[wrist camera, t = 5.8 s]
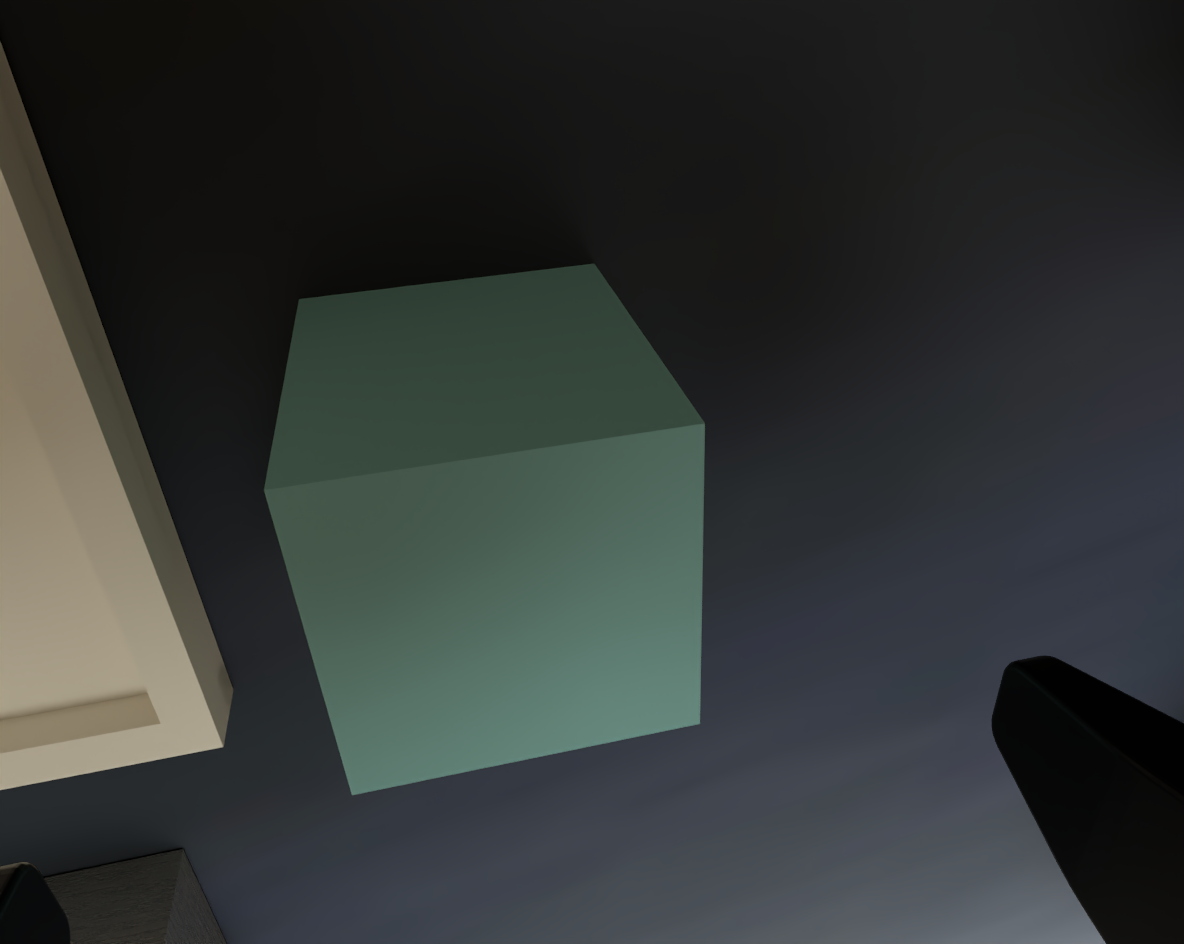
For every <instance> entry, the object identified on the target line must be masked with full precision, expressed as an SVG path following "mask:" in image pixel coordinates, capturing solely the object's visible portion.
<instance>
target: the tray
mask: <svg viewBox="0 0 1184 944" xmlns="http://www.w3.org/2000/svg"><path fill="white" fill-rule="evenodd" d="M232 695H233V687H232V684H231V682H230V679H229V676H228V673H227V671H226V668H225V665H224V662H223V659H222V657H221V654H220V651H219V648H218V646H217V643H216V640H215V637H214V634H213V632H212V629H211V626H210V623H209V620H208V618H207V615H206V612H205V609H204V607H203V604H202V601H201V598H200V595H199V593H198V590H197V587H196V584H195V582H194V579H193V576H192V573H191V570H190V568H189V565H188V562H187V559H186V556H185V554H184V551H183V548H182V545H181V543H180V540H179V537H178V534H177V531H176V529H175V526H174V523H173V520H172V518H171V515H170V512H169V509H168V506H167V504H166V501H165V498H164V495H163V492H162V490H161V487H160V484H159V481H158V479H157V476H156V473H155V470H154V467H153V465H152V462H151V459H150V456H149V454H148V451H147V448H146V445H145V442H144V440H143V437H142V434H141V431H140V429H139V426H138V423H137V420H136V417H135V415H134V412H133V409H132V406H131V403H130V401H129V398H128V395H127V392H126V390H125V387H124V384H123V381H122V378H121V376H120V373H119V370H118V367H117V365H116V362H115V359H114V356H113V353H112V351H111V348H110V345H109V342H108V339H107V337H106V334H105V331H104V328H103V326H102V323H101V320H100V317H99V314H98V312H97V309H96V306H95V303H94V301H93V298H92V295H91V292H90V289H89V287H88V284H87V281H86V278H85V275H84V273H83V270H82V267H81V264H80V262H79V259H78V256H77V253H76V250H75V248H74V245H73V242H72V239H71V237H70V234H69V231H68V228H67V225H66V223H65V220H64V217H63V214H62V211H61V209H60V206H59V203H58V200H57V198H56V195H55V192H54V189H53V186H52V184H51V181H50V178H49V175H48V173H47V170H46V167H45V164H44V161H43V159H42V156H41V153H40V150H39V147H38V145H37V142H36V139H35V136H34V134H33V131H32V128H31V125H30V122H29V120H28V117H27V114H26V111H25V109H24V106H23V103H22V100H21V97H20V95H19V92H18V89H17V86H16V83H15V81H14V78H13V75H12V72H11V70H10V67H9V64H8V61H7V58H6V56H5V53H4V50H3V47H2V45H1V42H0V790H3V789H9V788H14V787H19V786H24V785H29V784H34V783H40V782H45V781H50V780H55V779H60V778H66V777H71V776H76V775H81V774H86V773H91V772H97V771H102V770H107V769H112V768H117V767H123V766H128V765H133V764H138V763H143V762H148V761H154V760H159V759H164V758H169V757H174V756H180V755H185V754H190V753H195V752H200V751H205V750H211V749H216V748H221V747H223V746H224V741H225V735H226V729H227V723H228V718H229V712H230V706H231V701H232Z"/></svg>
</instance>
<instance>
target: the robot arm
mask: <svg viewBox="0 0 1184 944" xmlns="http://www.w3.org/2000/svg"><path fill="white" fill-rule="evenodd" d="M992 731H993V736H994V739H995V742H996V744H997V746H998V748H999V750H1000V752H1001V754H1002V756H1003V758H1004V760H1005V762H1006V764H1007V766H1008V768H1009V770H1010V772H1011V774H1012V776H1013V778H1014V780H1015V782H1016V784H1017V785H1018V787H1019V789H1020V791H1021V793H1022V795H1023V797H1024V799H1025V801H1026V803H1027V805H1028V807H1029V809H1030V811H1031V813H1032V815H1033V817H1034V819H1035V821H1036V823H1037V824H1038V826H1039V828H1040V830H1041V832H1042V834H1043V836H1044V838H1045V840H1046V842H1047V844H1048V846H1049V848H1050V850H1051V852H1052V854H1053V856H1054V858H1055V860H1056V862H1057V863H1058V865H1059V867H1060V869H1061V871H1062V873H1063V874H1064V876H1065V878H1066V880H1067V882H1068V883H1069V885H1070V887H1071V889H1072V890H1073V892H1074V894H1075V895H1076V897H1077V898H1078V900H1079V902H1080V903H1081V905H1082V907H1083V908H1084V910H1085V911H1086V913H1087V915H1088V916H1089V918H1090V919H1091V921H1092V922H1093V924H1094V926H1095V927H1096V929H1097V930H1098V932H1099V933H1100V935H1101V936H1102V938H1103V940H1104V941H1105V943H1106V944H1184V723H1182V722H1180V721H1178V720H1176V719H1174V718H1172V717H1170V716H1168V715H1167V714H1165V713H1163V712H1161V711H1159V710H1157V709H1155V708H1153V707H1151V706H1149V705H1147V704H1145V703H1143V702H1141V701H1139V700H1137V699H1135V698H1133V697H1131V696H1130V695H1128V694H1126V693H1124V692H1122V691H1120V690H1118V689H1116V688H1114V687H1112V686H1110V685H1108V684H1106V683H1104V682H1102V681H1100V680H1098V679H1096V678H1095V677H1093V676H1091V675H1089V674H1087V673H1085V672H1083V671H1081V670H1079V669H1077V668H1075V667H1073V666H1071V665H1069V664H1067V663H1065V662H1063V661H1061V660H1059V659H1057V658H1055V657H1051V656H1037V657H1032V658H1027V659H1022V660H1017V661H1014V662H1011V663H1010V664H1009V665H1008V666H1007V667H1006V668H1005V670H1004V673H1003V676H1002V680H1001V684H1000V688H999V692H998V696H997V700H996V703H995V707H994V711H993V715H992ZM0 944H70V926H69V922H68V919H67V916H66V914H65V912H64V911H63V909H62V907H61V906H60V904H59V903H58V901H57V899H56V898H55V896H54V894H53V893H52V891H51V889H50V888H49V886H48V884H47V883H46V881H45V880H44V878H43V876H42V875H41V873H40V871H39V870H38V869H37V868H36V866H34V865H32V864H30V863H28V862H20V863H15V864H10V865H6V866H1V867H0Z"/></svg>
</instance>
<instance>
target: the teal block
mask: <svg viewBox="0 0 1184 944" xmlns="http://www.w3.org/2000/svg"><path fill="white" fill-rule="evenodd" d="M704 451H705V423H704V421H703V420H702V418H701V417H700V415H699V414H698V413H697V411H696V410H695V408H694V407H693V405H692V404H691V402H690V401H689V400H688V398H687V397H686V395H685V394H684V392H683V391H682V389H681V388H680V387H679V385H678V384H677V382H676V381H675V379H674V378H673V376H672V375H671V374H670V372H669V371H668V369H667V368H666V366H665V365H664V363H663V362H662V361H661V359H660V358H659V356H658V355H657V353H656V352H655V350H654V349H653V348H652V346H651V345H650V343H649V342H648V340H647V339H646V337H645V336H644V335H643V333H642V332H641V330H640V329H639V327H638V326H637V324H636V323H635V322H634V320H633V319H632V317H631V316H630V314H629V313H628V311H627V310H626V309H625V307H624V306H623V304H622V303H621V301H620V300H619V298H618V297H617V296H616V294H615V293H614V291H613V290H612V288H611V287H610V285H609V284H608V283H607V281H606V280H605V278H604V277H603V275H602V274H601V272H600V271H599V270H598V268H597V267H596V265H595V264H586V265H578V266H570V267H561V268H553V269H545V270H536V271H528V272H520V273H512V274H503V275H495V276H487V277H478V278H470V279H462V280H454V281H445V282H437V283H429V284H420V285H412V286H404V287H396V288H387V289H379V290H371V291H362V292H354V293H346V294H338V295H329V296H321V297H313V298H304V299H299V302H298V307H297V312H296V318H295V323H294V329H293V334H292V340H291V345H290V351H289V356H288V361H287V367H286V372H285V378H284V383H283V389H282V394H281V400H280V405H279V411H278V416H277V421H276V427H275V432H274V438H273V443H272V449H271V454H270V460H269V465H268V470H267V476H266V481H265V487H264V492H265V496H266V499H267V503H268V506H269V510H270V513H271V517H272V520H273V523H274V527H275V530H276V534H277V537H278V541H279V544H280V548H281V551H282V555H283V558H284V561H285V565H286V568H287V572H288V575H289V579H290V582H291V586H292V589H293V593H294V596H295V600H296V603H297V606H298V610H299V613H300V617H301V620H302V624H303V627H304V631H305V634H306V638H307V641H308V645H309V648H310V651H311V655H312V658H313V662H314V665H315V669H316V672H317V676H318V679H319V683H320V686H321V690H322V693H323V696H324V700H325V703H326V707H327V710H328V714H329V717H330V721H331V724H332V728H333V731H334V734H335V738H336V741H337V745H338V748H339V752H340V755H341V759H342V762H343V766H344V769H345V773H346V776H347V779H348V783H349V786H350V790H351V793H352V795H356V794H360V793H365V792H370V791H375V790H380V789H385V788H390V787H394V786H399V785H404V784H409V783H414V782H419V781H424V780H429V779H433V778H438V777H443V776H448V775H453V774H458V773H463V772H467V771H472V770H477V769H482V768H487V767H492V766H497V765H502V764H506V763H511V762H516V761H521V760H526V759H531V758H536V757H541V756H545V755H550V754H555V753H560V752H565V751H570V750H575V749H579V748H584V747H589V746H594V745H599V744H604V743H609V742H614V741H618V740H623V739H628V738H633V737H638V736H643V735H648V734H653V733H657V732H662V731H667V730H672V729H677V728H682V727H687V726H691V725H696V724H700V686H701V627H702V568H703V510H704Z"/></svg>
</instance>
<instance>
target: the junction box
mask: <svg viewBox="0 0 1184 944" xmlns="http://www.w3.org/2000/svg"><path fill="white" fill-rule="evenodd" d="M44 880H45V881H46V883H47V884H48V886H49V888H50V889H51V891H52V893H53V894H54V896H55V898H56V899H57V901H58V903H59V904H60V906H61V907H62V909H63V911H64V912H65V914H66V916H67V919H68V922H69V926H70V944H226V942H225V939H224V937H223V935H222V933H221V931H220V928H219V926H218V924H217V922H216V920H215V918H214V915H213V913H212V911H211V909H210V907H209V905H208V902H207V900H206V898H205V896H204V894H203V891H202V889H201V887H200V885H199V883H198V881H197V878H196V876H195V874H194V872H193V870H192V867H191V865H190V863H189V861H188V859H187V857H186V854H185V852H184V850H183V849H181V850H176V851H171V852H166V853H162V854H157V855H152V856H147V857H142V858H138V859H133V860H128V861H123V862H119V863H114V864H109V865H104V866H99V867H95V868H90V869H85V870H80V871H75V872H71V873H66V874H61V875H56V876H51V877H47V878H44Z"/></svg>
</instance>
